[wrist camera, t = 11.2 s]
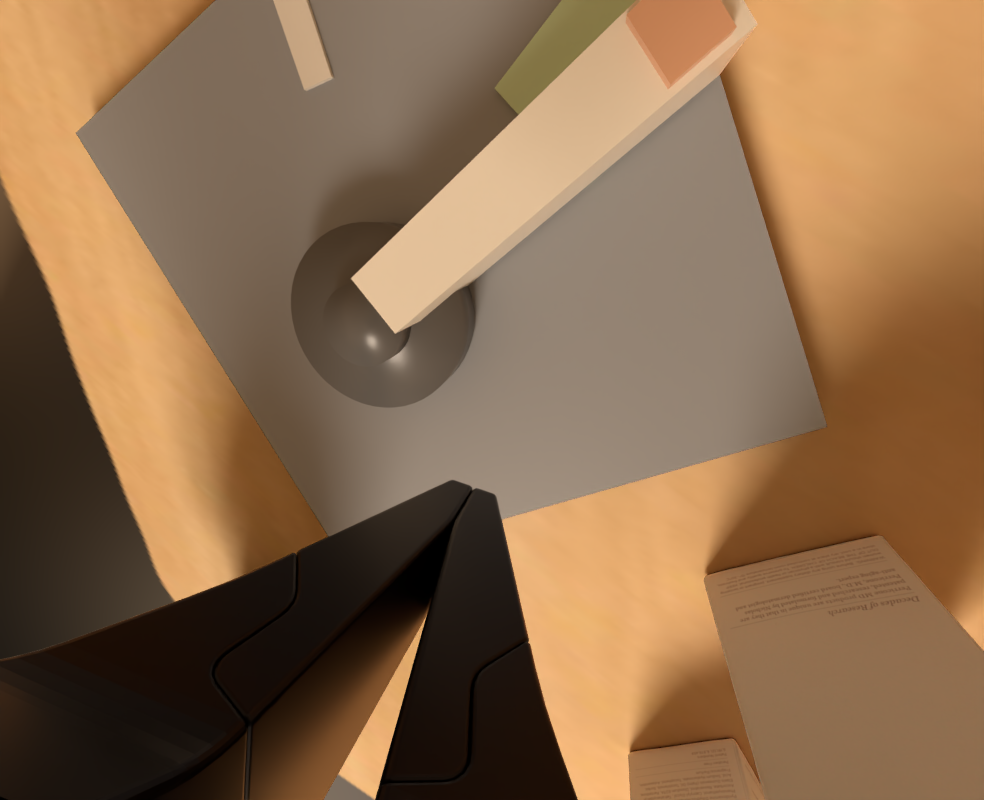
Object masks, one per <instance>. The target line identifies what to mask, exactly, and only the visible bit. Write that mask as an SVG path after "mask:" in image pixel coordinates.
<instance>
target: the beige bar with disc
mask: <svg viewBox="0 0 984 800" xmlns="http://www.w3.org/2000/svg"><path fill="white" fill-rule="evenodd" d="M756 26H757V22H756V20H755V19H754V17H753V15H752V14H751V12H750V10H749V8H748V7H747V5H746V3H745V2H744V0H636V1H635V2H634V3H633V4H632V5H631V6H630V7H629V8H628V9H627V10H626V11H625V12H624V13H623V14H622V15H620V16H619V17H618V18H617V19H616V20H615V21H614V22H613V23H612V24H611V25H610V26H609V27H608V28H607V29H606V30H605V31H604V32H603V33H602V34H601V35H600V36H599V37H598V38H597V39H596V40H595V41H594V42H593V43H592V44H591V45H590V46H589V47H588V48H587V49H586V50H585V51H584V52H583V53H582V54H580V55H579V56H578V57H577V58H576V59H575V60H574V61H573V62H572V63H571V64H570V65H569V66H568V67H567V68H566V69H565V70H564V71H563V72H562V73H561V74H560V75H559V76H558V77H557V78H556V79H555V80H554V81H553V82H552V83H551V84H550V85H549V86H548V87H547V88H546V89H545V90H544V91H543V92H542V93H541V94H539V95H538V96H537V97H536V98H535V99H534V100H533V101H532V102H531V103H530V104H529V105H528V106H527V107H526V108H525V109H524V110H523V111H522V112H521V113H520V114H519V115H518V116H517V117H516V118H515V119H514V120H513V121H512V122H511V123H510V124H509V125H508V126H507V127H506V128H505V129H504V130H503V131H502V132H501V133H499V134H498V135H497V136H496V137H495V138H494V139H493V140H492V141H491V142H490V143H489V144H488V145H487V146H486V147H485V148H484V149H483V150H482V151H481V152H480V153H479V154H478V155H477V156H476V157H475V158H474V159H473V160H472V161H471V162H470V163H469V164H468V165H467V166H466V167H465V168H464V169H463V170H462V171H461V172H459V173H458V174H457V175H456V176H455V177H454V178H453V179H452V180H451V181H450V182H449V183H448V184H447V185H446V186H445V187H444V188H443V189H442V190H441V191H440V192H439V193H438V194H437V195H436V196H435V197H434V198H433V199H432V200H431V201H430V202H429V203H428V204H427V205H426V206H425V207H424V208H423V209H422V210H421V211H419V212H418V213H417V214H416V215H415V216H414V217H413V218H412V219H411V220H410V221H409V222H408V223H407V224H406V225H403V224H397V223H388V222H356V223H349V224H346V225H342V226H339V227H337V228H335V229H332V230H330V231H328V232H327V233H325V234H324V235H322V236H321V237H320V238H319V239H317V240H316V241H315V242H314V243H313V244H312V245H311V246H310V248H309V249H308V250H307V251H306V253H305V254H304V256H303V258H302V259H301V261H300V263H299V265H298V268H297V270H296V273H295V276H294V280H293V284H292V291H291V313H292V321H293V325H294V329H295V333H296V336H297V338H298V341H299V344H300V346H301V348H302V350H303V352H304V354H305V356H306V357H307V359H308V360H309V362H310V364H311V365H312V366H313V368H314V369H315V370H316V371H317V373H318V374H319V375H320V376H321V377H322V378H323V379H324V380H325V381H326V382H327V383H328V384H330V385H331V386H332V387H333V388H334V389H336V390H337V391H339V392H340V393H342V394H343V395H345V396H347V397H349V398H351V399H352V400H355V401H358V402H360V403H363V404H366V405H370V406H375V407H383V408H394V407H402V406H406V405H410V404H414V403H416V402H418V401H420V400H423V399H424V398H426V397H428V396H429V395H431V394H432V393H433V392H434V391H436V390H437V389H438V388H439V387H440V386H441V385H442V384H443V383H444V382H445V381H446V380H447V379H448V378H450V377H451V376H452V375H453V373H454V372H455V371H456V370H457V369H458V368H459V366H460V365H461V363H462V362H463V360H464V358H465V356H466V354H467V352H468V350H469V347H470V344H471V340H472V336H473V330H474V307H473V301H472V296H471V292H470V289H469V286H468V285H470V284H471V283H472V282H473V281H474V280H475V279H477V278H478V277H479V276H480V275H481V274H483V273H484V272H485V271H486V270H487V269H489V268H490V267H491V266H492V265H493V264H495V263H496V262H497V261H498V260H499V259H501V258H502V257H503V256H504V255H505V254H507V253H508V252H509V251H510V250H511V249H512V248H514V247H515V246H516V245H517V244H518V243H520V242H521V241H522V240H523V239H524V238H526V237H527V236H528V235H529V234H530V233H532V232H533V231H534V230H535V229H536V228H538V227H539V226H540V225H541V224H542V223H543V222H545V221H546V220H547V219H548V218H549V217H551V216H552V215H553V214H554V213H555V212H557V211H558V210H559V209H560V208H561V207H563V206H564V205H565V204H566V203H567V202H569V201H570V200H571V199H572V198H573V197H575V196H576V195H577V194H578V193H579V192H580V191H582V190H583V189H584V188H585V187H586V186H588V185H589V184H590V183H591V182H592V181H594V180H595V179H596V178H597V177H598V176H600V175H601V174H602V173H603V172H604V171H606V170H607V169H608V168H609V167H610V166H612V165H613V164H614V163H615V162H616V161H617V160H619V159H620V158H621V157H622V156H623V155H625V154H626V153H627V152H628V151H629V150H631V149H632V148H633V147H634V146H635V145H637V144H638V143H639V142H640V141H641V140H643V139H644V138H645V137H646V136H647V135H649V134H650V133H651V132H652V131H653V130H654V129H656V128H657V127H658V126H659V125H660V124H662V123H663V122H664V121H665V120H666V119H668V118H669V117H670V116H671V115H672V114H674V113H675V112H676V111H677V110H678V109H680V108H681V107H682V106H683V105H684V104H686V103H687V102H688V101H689V100H690V99H691V98H693V97H694V96H695V95H696V94H697V93H699V92H700V91H701V90H702V89H703V88H705V87H706V86H707V85H708V84H709V83H711V82H712V81H713V80H714V79H715V78H717V77H718V76H719V75H720V74H721V72H722V71H723V70H724V68H725V67H726V66H727V64H728V63H729V62H730V60H731V59H732V58H733V56H734V55H735V54H736V52H737V51H738V50H739V48H740V47H741V46H742V44H743V43H744V42H745V40H746V39H747V38H748V36H749V35H750V34H751V32H752V31H753V30H754V28H755V27H756Z"/></svg>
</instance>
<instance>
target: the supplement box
mask: <svg viewBox="0 0 984 800" xmlns="http://www.w3.org/2000/svg"><path fill="white" fill-rule="evenodd" d="M704 583H705V587H706V591H707V594H708V598H709V602H710V605H711V609H712V612H713V616H714V620H715V624H716V627H717V631H718V634H719V638H720V641H721V645H722V648H723V652H724V655H725V659H726V663H727V666H728V670H729V673H730V677H731V681H732V684H733V688H734V691H735V695H736V698H737V702H738V705H739V709H740V712H741V716H742V719H743V722H744V726H745V729H746V733H747V736H748V740H749V743H750V747H751V750H752V754H753V757H754V761H755V764H756V768H757V772H758V775H759V779H760V782H761V786H762V790H763V793H764V797H765V800H984V651H983V650H982V649H981V647H980V646H979V645H978V644H977V643H976V642H975V641H974V639H973V638H972V637H971V636H970V635H969V634H968V633H967V632H966V630H965V629H964V628H963V627H962V626H961V625H960V624H959V622H958V621H957V620H956V619H955V618H954V617H953V616H952V615H951V613H950V612H949V611H948V610H947V609H946V608H945V607H944V606H943V605H942V603H941V602H940V601H939V600H938V599H937V598H936V596H935V595H934V594H933V593H932V592H931V591H930V590H929V589H928V587H927V586H926V585H925V584H924V583H923V582H922V580H921V579H920V578H919V577H918V576H917V575H916V574H915V572H914V571H913V570H912V569H911V568H910V567H909V566H908V565H907V564H906V563H905V561H904V560H903V559H902V558H901V557H900V556H899V555H898V553H897V552H896V551H895V550H894V549H893V548H892V547H891V546H890V544H889V543H888V542H887V541H886V539H885V538H884V537H883V536H878V535H877V536H873V537H868V538H863V539H859V540H855V541H850V542H845V543H841V544H836V545H832V546H828V547H824V548H820V549H815V550H810V551H805V552H801V553H797V554H793V555H788V556H784V557H779V558H775V559H771V560H766V561H763V562H759V563H754V564H749V565H745V566H741V567H737V568H733V569H728V570H724V571H720V572H717V573H713V574H710V575H707V576H706V577H705V578H704Z"/></svg>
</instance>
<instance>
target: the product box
mask: <svg viewBox="0 0 984 800" xmlns="http://www.w3.org/2000/svg"><path fill="white" fill-rule="evenodd" d="M628 759H629V781H630V799H631V800H765V797H764V793H763V790H762V786H761V784H760V782H759V781H758V779H757V777H756V775H755V774H754V772H753V770H752V768H751V766H750V765H749V763H748V761H747V760H746V758H745V756H744V754H743V752H742V751H741V749H740V747H739V746H738V744H737V742H736V741H735V740H734V739H722V740H713V741H705V742H698V743H691V744H685V745H678V746H671V747H665V748H657V749H648V750H640V751H634V752H630V753H629V755H628Z"/></svg>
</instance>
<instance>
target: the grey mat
mask: <svg viewBox="0 0 984 800" xmlns="http://www.w3.org/2000/svg"><path fill="white" fill-rule="evenodd" d="M635 1H636V0H215V1H214V2H213V3H212V4H211V5H210V6H209V7H208V8H207V9H206V10H205V11H204V12H202V13H201V14H200V15H199V16H198V17H197V18H196V19H195V20H194V21H193V22H192V23H191V24H190V25H189V26H188V27H187V28H186V29H185V30H184V31H182V32H181V33H180V34H179V35H178V36H177V37H176V38H175V39H174V40H173V41H172V42H171V43H170V44H169V45H168V46H167V47H166V48H165V49H164V50H163V51H161V52H160V53H159V54H158V55H157V56H156V57H155V58H154V59H153V60H152V61H151V62H150V63H149V64H148V65H147V66H146V67H145V68H144V69H143V70H142V71H140V72H139V73H138V74H137V75H136V76H135V77H134V78H133V79H132V80H131V81H130V82H129V83H128V84H127V85H126V86H125V87H124V88H123V89H122V90H121V91H119V92H118V93H117V94H116V95H115V96H114V97H113V98H112V99H111V100H110V101H109V102H108V103H107V104H106V105H105V106H104V107H103V108H102V109H101V110H100V111H98V112H97V113H96V114H95V115H94V116H93V117H92V118H91V119H90V120H89V121H88V122H87V123H86V124H85V125H84V126H83V127H82V128H81V129H80V130H78V131H77V132H76V134H77V136H78V137H79V139H80V141H81V142H82V144H83V145H84V147H85V149H86V150H87V152H88V153H89V155H90V157H91V158H92V160H93V161H94V163H95V165H96V166H97V168H98V169H99V171H100V173H101V174H102V176H103V177H104V179H105V181H106V182H107V184H108V185H109V187H110V189H111V190H112V192H113V193H114V195H115V197H116V198H117V200H118V201H119V203H120V205H121V206H122V208H123V209H124V211H125V213H126V214H127V216H128V217H129V219H130V221H131V222H132V224H133V225H134V227H135V229H136V230H137V232H138V233H139V235H140V237H141V238H142V240H143V241H144V243H145V244H146V246H147V248H148V249H149V251H150V252H151V254H152V256H153V257H154V259H155V260H156V262H157V264H158V265H159V267H160V268H161V270H162V272H163V273H164V275H165V276H166V278H167V280H168V281H169V283H170V284H171V286H172V288H173V289H174V291H175V292H176V294H177V296H178V297H179V299H180V300H181V302H182V304H183V305H184V307H185V308H186V310H187V312H188V313H189V315H190V316H191V318H192V320H193V321H194V323H195V324H196V326H197V328H198V329H199V331H200V332H201V334H202V336H203V337H204V339H205V340H206V342H207V343H208V345H209V347H210V348H211V350H212V351H213V353H214V355H215V356H216V358H217V359H218V361H219V363H220V364H221V366H222V367H223V369H224V371H225V372H226V374H227V375H228V377H229V379H230V380H231V382H232V383H233V385H234V387H235V388H236V390H237V391H238V393H239V395H240V396H241V398H242V399H243V401H244V403H245V404H246V406H247V407H248V409H249V411H250V412H251V414H252V415H253V417H254V419H255V420H256V422H257V423H258V425H259V427H260V428H261V430H262V431H263V433H264V435H265V436H266V438H267V439H268V441H269V442H270V444H271V446H272V447H273V449H274V450H275V452H276V454H277V455H278V457H279V458H280V460H281V462H282V463H283V465H284V466H285V468H286V470H287V471H288V473H289V474H290V476H291V478H292V479H293V481H294V482H295V484H296V486H297V487H298V489H299V490H300V492H301V494H302V495H303V497H304V498H305V500H306V502H307V503H308V505H309V506H310V508H311V510H312V511H313V513H314V514H315V516H316V518H317V519H318V521H319V522H320V524H321V526H322V527H323V529H324V530H325V532H326V534H327V535H328V537H329V536H331V535H333V534H335V533H337V532H340V531H342V530H344V529H346V528H348V527H350V526H353V525H355V524H357V523H359V522H361V521H363V520H365V519H368V518H370V517H372V516H374V515H376V514H378V513H381V512H383V511H385V510H387V509H389V508H391V507H393V506H396V505H398V504H400V503H402V502H404V501H406V500H409V499H411V498H413V497H415V496H417V495H419V494H421V493H424V492H426V491H428V490H430V489H432V488H434V487H437V486H439V485H441V484H443V483H445V482H447V481H450V480H456V481H458V482H461V483H464V484H467V485H470V486H471V487H472V489H475V488H479V489H482V490H485V491H487V492H490V493H493V494H495V495H496V497H497V501H498V506H499V510H500V515H501V519H505V518H508V517H512V516H516V515H519V514H523V513H526V512H530V511H533V510H537V509H540V508H544V507H547V506H551V505H554V504H558V503H561V502H565V501H568V500H572V499H575V498H579V497H582V496H586V495H589V494H593V493H597V492H600V491H604V490H607V489H611V488H614V487H618V486H621V485H625V484H628V483H632V482H635V481H639V480H642V479H646V478H649V477H653V476H656V475H660V474H663V473H667V472H670V471H674V470H678V469H681V468H685V467H688V466H692V465H695V464H699V463H702V462H706V461H709V460H713V459H716V458H720V457H723V456H727V455H730V454H734V453H737V452H741V451H744V450H748V449H752V448H755V447H759V446H762V445H766V444H769V443H773V442H776V441H780V440H783V439H787V438H790V437H794V436H797V435H801V434H804V433H808V432H811V431H815V430H818V429H822V428H825V427H827V424H826V420H825V417H824V414H823V411H822V407H821V404H820V401H819V398H818V394H817V391H816V388H815V384H814V381H813V378H812V375H811V371H810V368H809V365H808V362H807V358H806V355H805V352H804V349H803V345H802V342H801V339H800V335H799V332H798V329H797V326H796V322H795V319H794V316H793V313H792V309H791V306H790V303H789V299H788V296H787V293H786V290H785V286H784V283H783V280H782V277H781V273H780V270H779V267H778V264H777V260H776V257H775V254H774V250H773V247H772V244H771V241H770V237H769V234H768V231H767V228H766V224H765V221H764V218H763V215H762V211H761V208H760V205H759V201H758V198H757V195H756V192H755V188H754V185H753V182H752V179H751V175H750V172H749V169H748V166H747V162H746V159H745V156H744V152H743V149H742V146H741V143H740V139H739V136H738V133H737V130H736V126H735V123H734V120H733V116H732V113H731V110H730V107H729V103H728V100H727V97H726V94H725V90H724V87H723V84H722V81H721V77H720V75H719V76H718V77H717V78H715V79H714V80H713V81H712V82H711V83H709V84H708V85H707V86H706V87H705V88H703V89H702V90H701V91H700V92H699V93H697V94H696V95H695V96H694V97H693V98H691V99H690V100H689V101H688V102H687V103H686V104H684V105H683V106H682V107H681V108H680V109H678V110H677V111H676V112H675V113H674V114H672V115H671V116H670V117H669V118H668V119H666V120H665V121H664V122H663V123H662V124H660V125H659V126H658V127H657V128H656V129H654V130H653V131H652V132H651V133H650V134H649V135H647V136H646V137H645V138H644V139H643V140H641V141H640V142H639V143H638V144H637V145H635V146H634V147H633V148H632V149H631V150H629V151H628V152H627V153H626V154H625V155H623V156H622V157H621V158H620V159H619V160H617V161H616V162H615V163H614V164H613V165H612V166H610V167H609V168H608V169H607V170H606V171H604V172H603V173H602V174H601V175H600V176H598V177H597V178H596V179H595V180H594V181H592V182H591V183H590V184H589V185H588V186H586V187H585V188H584V189H583V190H582V191H580V192H579V193H578V194H577V195H576V196H575V197H573V198H572V199H571V200H570V201H569V202H567V203H566V204H565V205H564V206H563V207H561V208H560V209H559V210H558V211H557V212H555V213H554V214H553V215H552V216H551V217H549V218H548V219H547V220H546V221H545V222H543V223H542V224H541V225H540V226H539V227H538V228H536V229H535V230H534V231H533V232H532V233H530V234H529V235H528V236H527V237H526V238H524V239H523V240H522V241H521V242H520V243H518V244H517V245H516V246H515V247H514V248H512V249H511V250H510V251H509V252H508V253H507V254H505V255H504V256H503V257H502V258H501V259H499V260H498V261H497V262H496V263H495V264H493V265H492V266H491V267H490V268H489V269H487V270H486V271H485V272H484V273H483V274H481V275H480V276H479V277H478V278H477V279H475V280H474V281H473V282H472V283H471V284H470V285H468V286H469V289H470V292H471V296H472V301H473V307H474V330H473V336H472V340H471V344H470V347H469V350H468V352H467V354H466V356H465V358H464V360H463V362H462V363H461V365H460V366H459V368H458V369H457V370H456V371H455V372H454V373H453V375H452V376H451V377H450V378H448V379H447V380H446V381H445V382H444V383H443V384H442V385H441V386H440V387H439V388H438V389H437V390H436V391H434V392H433V393H432V394H431V395H429V396H428V397H426V398H424V399H423V400H420V401H418V402H416V403H414V404H410V405H406V406H402V407H394V408H383V407H375V406H370V405H366V404H363V403H360V402H358V401H355V400H352V399H351V398H349V397H347V396H345V395H343V394H342V393H340V392H339V391H337V390H336V389H334V388H333V387H332V386H331V385H330V384H328V383H327V382H326V381H325V380H324V379H323V378H322V377H321V376H320V375H319V374H318V373H317V371H316V370H315V369H314V368H313V366H312V365H311V364H310V362H309V360H308V359H307V357H306V356H305V354H304V352H303V350H302V348H301V346H300V344H299V341H298V338H297V336H296V333H295V329H294V325H293V321H292V313H291V291H292V284H293V280H294V276H295V273H296V270H297V268H298V265H299V263H300V261H301V259H302V258H303V256H304V254H305V253H306V251H307V250H308V249H309V248H310V246H311V245H312V244H313V243H314V242H315V241H316V240H317V239H319V238H320V237H321V236H322V235H324V234H325V233H327V232H328V231H330V230H332V229H335V228H337V227H339V226H342V225H346V224H349V223H356V222H388V223H397V224H403V225H406V224H407V223H408V222H409V221H410V220H411V219H412V218H413V217H414V216H415V215H416V214H417V213H418V212H419V211H421V210H422V209H423V208H424V207H425V206H426V205H427V204H428V203H429V202H430V201H431V200H432V199H433V198H434V197H435V196H436V195H437V194H438V193H439V192H440V191H441V190H442V189H443V188H444V187H445V186H446V185H447V184H448V183H449V182H450V181H451V180H452V179H453V178H454V177H455V176H456V175H457V174H458V173H459V172H461V171H462V170H463V169H464V168H465V167H466V166H467V165H468V164H469V163H470V162H471V161H472V160H473V159H474V158H475V157H476V156H477V155H478V154H479V153H480V152H481V151H482V150H483V149H484V148H485V147H486V146H487V145H488V144H489V143H490V142H491V141H492V140H493V139H494V138H495V137H496V136H497V135H498V134H499V133H501V132H502V131H503V130H504V129H505V128H506V127H507V126H508V125H509V124H510V123H511V122H512V121H513V120H514V119H515V118H516V117H517V116H518V115H519V114H520V113H521V112H522V111H523V110H524V109H525V108H526V107H527V106H528V105H529V104H530V103H531V102H532V101H533V100H534V99H535V98H536V97H537V96H538V95H539V94H541V93H542V92H543V91H544V90H545V89H546V88H547V87H548V86H549V85H550V84H551V83H552V82H553V81H554V80H555V79H556V78H557V77H558V76H559V75H560V74H561V73H562V72H563V71H564V70H565V69H566V68H567V67H568V66H569V65H570V64H571V63H572V62H573V61H574V60H575V59H576V58H577V57H578V56H579V55H580V54H582V53H583V52H584V51H585V50H586V49H587V48H588V47H589V46H590V45H591V44H592V43H593V42H594V41H595V40H596V39H597V38H598V37H599V36H600V35H601V34H602V33H603V32H604V31H605V30H606V29H607V28H608V27H609V26H610V25H611V24H612V23H613V22H614V21H615V20H616V19H617V18H618V17H619V16H620V15H622V14H623V13H624V12H625V11H626V10H627V9H628V8H629V7H630V6H631V5H632V4H633V3H634V2H635Z"/></svg>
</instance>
